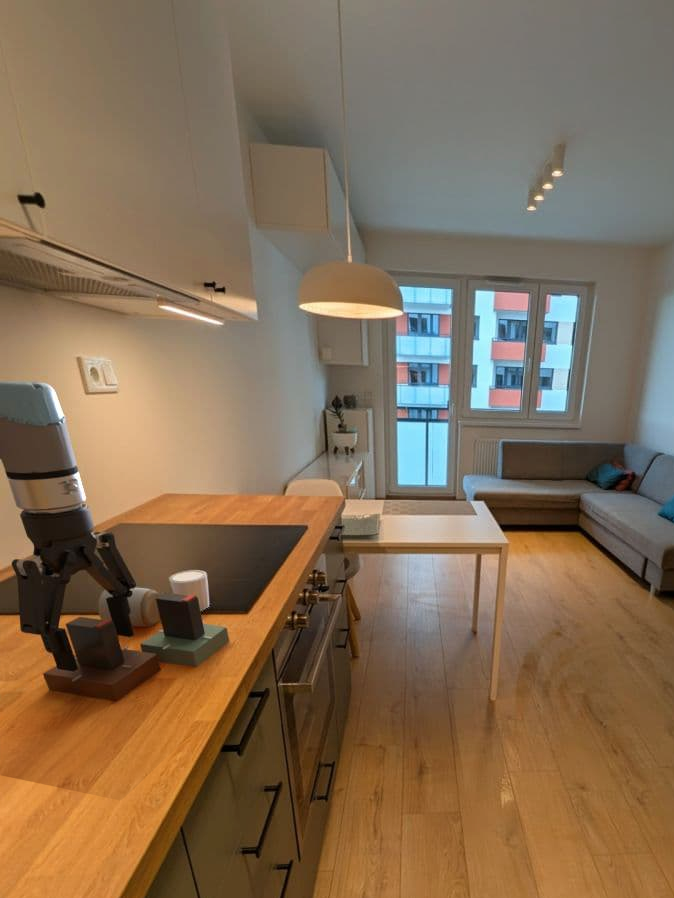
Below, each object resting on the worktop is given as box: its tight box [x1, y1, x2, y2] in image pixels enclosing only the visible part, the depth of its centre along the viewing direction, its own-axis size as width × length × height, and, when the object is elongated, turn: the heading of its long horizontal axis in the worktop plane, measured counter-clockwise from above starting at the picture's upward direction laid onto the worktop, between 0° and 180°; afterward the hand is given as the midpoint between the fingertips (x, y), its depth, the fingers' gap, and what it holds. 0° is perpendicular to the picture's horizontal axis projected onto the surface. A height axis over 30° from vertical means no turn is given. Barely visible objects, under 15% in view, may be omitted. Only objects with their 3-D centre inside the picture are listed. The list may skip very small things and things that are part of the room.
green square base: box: [139, 620, 230, 668], centre depth 87 cm, size 10×10×3 cm
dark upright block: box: [156, 592, 205, 640], centre depth 85 cm, size 6×2×7 cm, turn 78°
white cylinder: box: [168, 569, 211, 613], centre depth 102 cm, size 7×7×7 cm
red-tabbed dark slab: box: [65, 616, 125, 670], centre depth 77 cm, size 6×2×7 cm, turn 78°
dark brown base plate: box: [42, 645, 162, 702], centre depth 79 cm, size 12×10×3 cm
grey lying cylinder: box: [97, 587, 161, 628], centre depth 96 cm, size 11×8×8 cm
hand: (98, 651), depth 77 cm, fingers open, 10 cm apart
